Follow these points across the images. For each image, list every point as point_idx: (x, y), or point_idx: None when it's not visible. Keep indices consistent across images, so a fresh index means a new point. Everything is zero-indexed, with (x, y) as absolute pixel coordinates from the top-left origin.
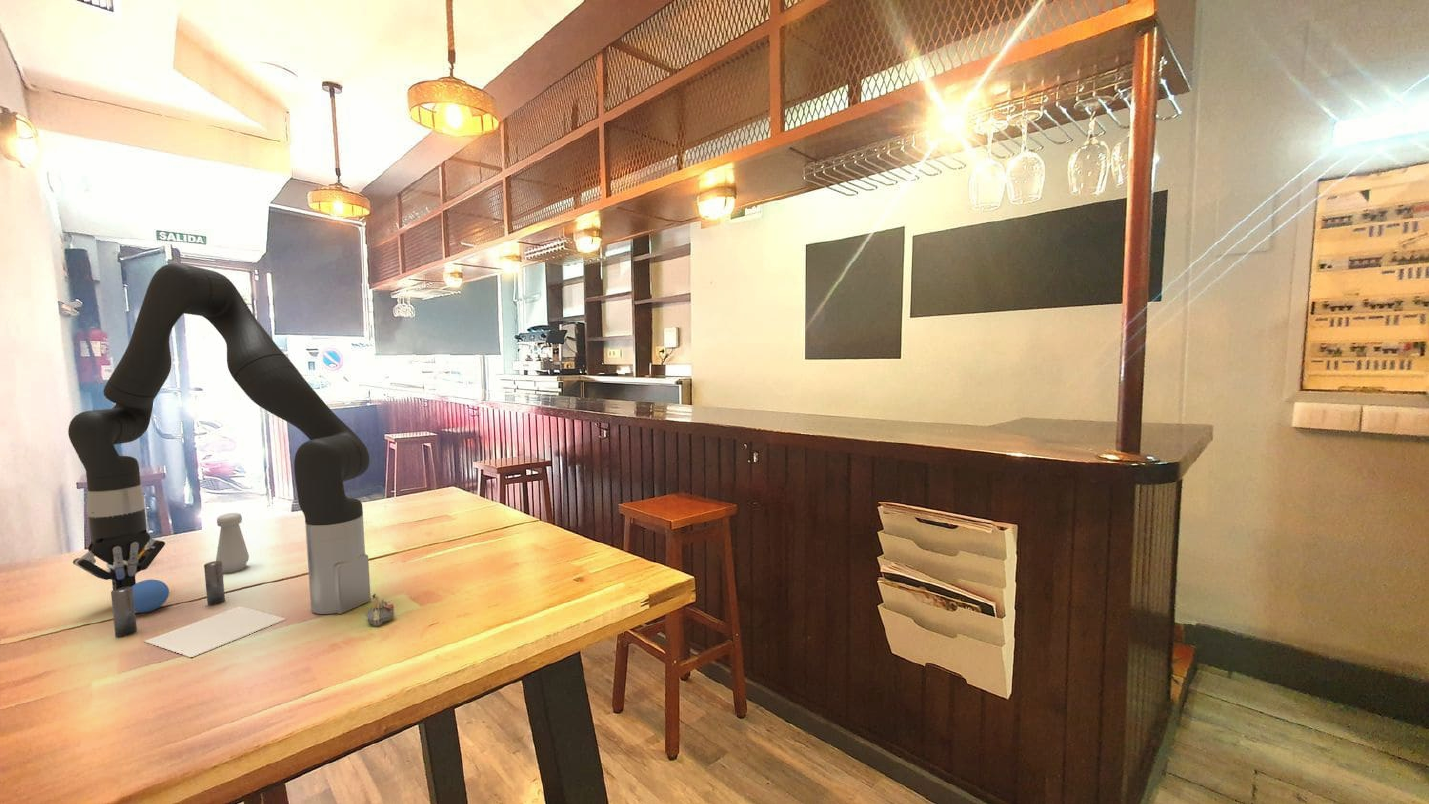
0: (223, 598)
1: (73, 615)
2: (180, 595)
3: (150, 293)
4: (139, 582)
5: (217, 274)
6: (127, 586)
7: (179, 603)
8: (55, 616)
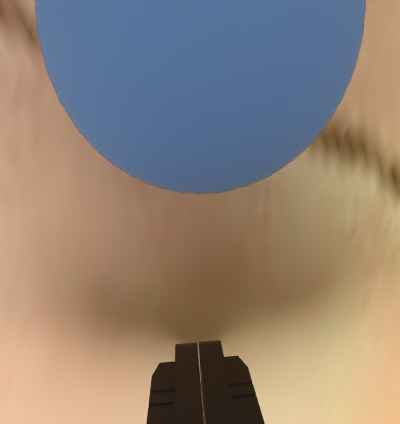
0: None
1: (356, 362)
2: (6, 190)
3: None
4: (279, 14)
5: None
6: (200, 386)
7: None
8: (383, 409)
